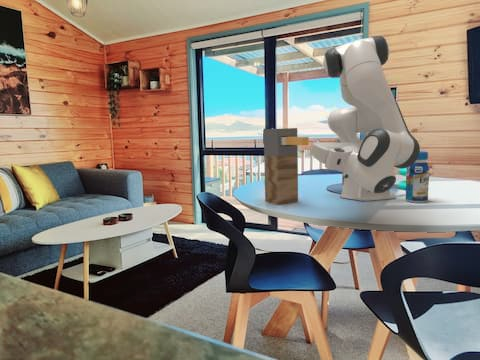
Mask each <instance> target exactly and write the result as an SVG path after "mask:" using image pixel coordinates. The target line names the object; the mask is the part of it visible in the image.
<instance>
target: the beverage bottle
mask: <svg viewBox="0 0 480 360" xmlns="http://www.w3.org/2000/svg"><path fill="white" fill-rule="evenodd" d="M428 159H429V152H428V151H422V150H421V151H420V152H419V156H418V158H417V160H416V161H415V162H414V163H413V164H412V165H411V166H409V167H407V173H406V176H405V178H406V179H405V181H406V190H405V201H407V202H408V203H409V202H410V203H415V204H417V203H418V204H419V203H420V204H421V203H427V202H429V201H428V200H429V185H430V184H429V183H430V182H429V181H430V180H429V179H430V173H429V171H430V166H429V164H428V162H427V161H428Z"/></svg>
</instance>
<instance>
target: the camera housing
mask: <svg viewBox="0 0 480 360" xmlns="http://www.w3.org/2000/svg"><path fill="white" fill-rule="evenodd" d="M281 137H298V127H295V128H294V127H293V128H292V127H289V128H285V127H284V128H264V129H263V156H264V155H267V156H289V155H299V154H298V151H299V150H298V148H299V145H281Z"/></svg>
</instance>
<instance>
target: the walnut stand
mask: <svg viewBox="0 0 480 360" xmlns="http://www.w3.org/2000/svg"><path fill="white" fill-rule="evenodd" d="M298 155H299V154H298ZM298 155H289V156H267V155H264V154H263V156H264V158H263V161H264V163H263V165H264V195H265V196H264V199H265V200H264V201H265V202H267V203H270V204H274V205H278V206H282V205H287V204H293V203H299V172H298V171H299V170H298V169H299V167H298V165H299V163H298V161H299V159H298V158H299V157H298Z"/></svg>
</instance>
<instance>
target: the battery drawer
mask: <svg viewBox="0 0 480 360" xmlns="http://www.w3.org/2000/svg"><path fill="white" fill-rule="evenodd" d="M281 145H298V146H309V136H297V137H281Z"/></svg>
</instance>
